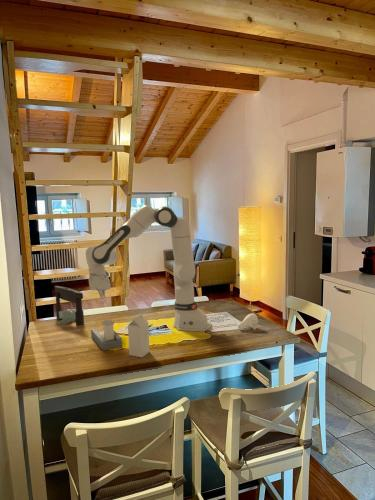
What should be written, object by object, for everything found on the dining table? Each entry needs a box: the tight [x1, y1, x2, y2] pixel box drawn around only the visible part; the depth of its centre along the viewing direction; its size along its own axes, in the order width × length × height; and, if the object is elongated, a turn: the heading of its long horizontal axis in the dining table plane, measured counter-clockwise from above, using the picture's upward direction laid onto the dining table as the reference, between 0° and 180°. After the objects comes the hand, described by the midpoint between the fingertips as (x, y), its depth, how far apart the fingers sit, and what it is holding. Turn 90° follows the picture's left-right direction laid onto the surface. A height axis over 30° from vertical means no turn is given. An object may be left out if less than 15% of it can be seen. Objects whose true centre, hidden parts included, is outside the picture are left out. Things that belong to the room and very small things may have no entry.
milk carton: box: [127, 313, 150, 358], centre depth 171 cm, size 7×7×19 cm
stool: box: [54, 285, 85, 326], centre depth 224 cm, size 16×21×33 cm
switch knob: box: [101, 318, 115, 341], centre depth 183 cm, size 5×5×9 cm
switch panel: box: [90, 328, 123, 351], centre depth 189 cm, size 22×10×4 cm, turn 29°
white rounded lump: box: [237, 312, 259, 331], centre depth 202 cm, size 6×8×12 cm
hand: (102, 297), depth 201 cm, fingers closed
